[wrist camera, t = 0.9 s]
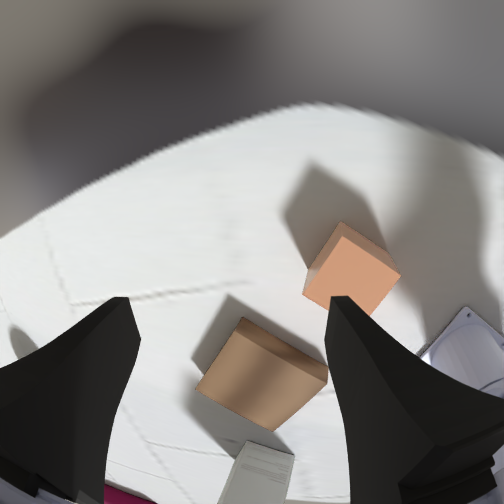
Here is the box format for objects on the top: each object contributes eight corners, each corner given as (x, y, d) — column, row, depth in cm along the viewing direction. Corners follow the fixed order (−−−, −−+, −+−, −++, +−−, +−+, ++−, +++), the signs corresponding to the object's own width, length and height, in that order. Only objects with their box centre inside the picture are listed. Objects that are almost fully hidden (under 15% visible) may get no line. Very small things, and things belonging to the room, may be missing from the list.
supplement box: (233, 460, 37) (205, 525, 25) (247, 438, 34) (216, 514, 22) (278, 475, 36) (258, 541, 24) (297, 455, 33) (278, 532, 21)
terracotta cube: (388, 253, 23) (401, 275, 18) (355, 299, 25) (358, 329, 20) (340, 220, 23) (342, 235, 19) (308, 269, 25) (301, 294, 21)
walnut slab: (328, 364, 28) (327, 383, 25) (277, 413, 32) (272, 431, 29) (243, 314, 29) (234, 330, 26) (205, 372, 32) (195, 389, 30)
